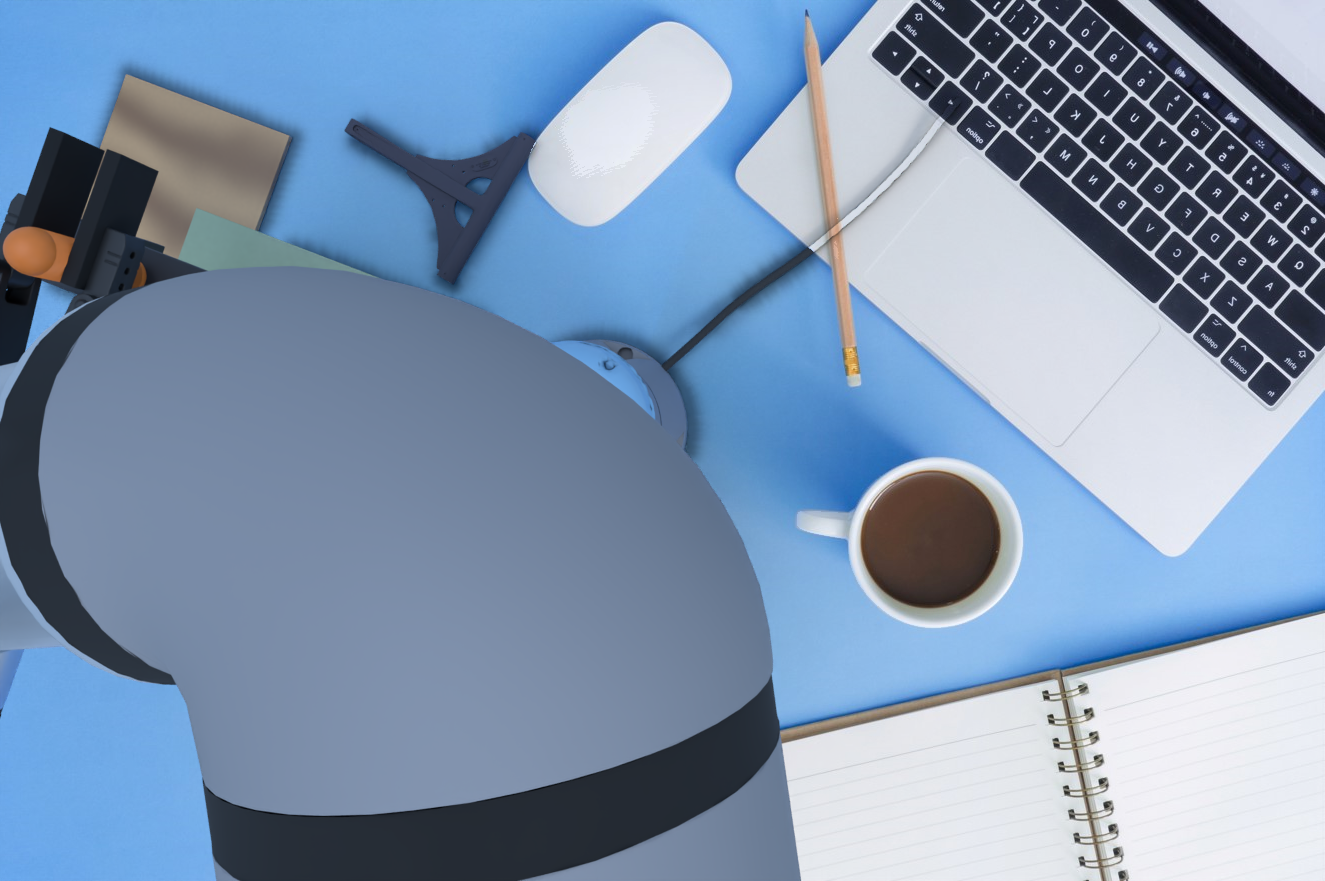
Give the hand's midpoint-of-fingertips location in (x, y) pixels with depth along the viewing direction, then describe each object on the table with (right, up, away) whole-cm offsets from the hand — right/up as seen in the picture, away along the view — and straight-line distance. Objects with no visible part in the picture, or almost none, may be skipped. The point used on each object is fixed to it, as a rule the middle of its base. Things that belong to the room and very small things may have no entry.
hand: (105, 150), depth 42 cm
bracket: (+5, +10, +37) cm, 38 cm away
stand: (0, -4, +37) cm, 37 cm away
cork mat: (-18, +7, +38) cm, 42 cm away
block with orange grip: (-1, -5, +16) cm, 17 cm away
